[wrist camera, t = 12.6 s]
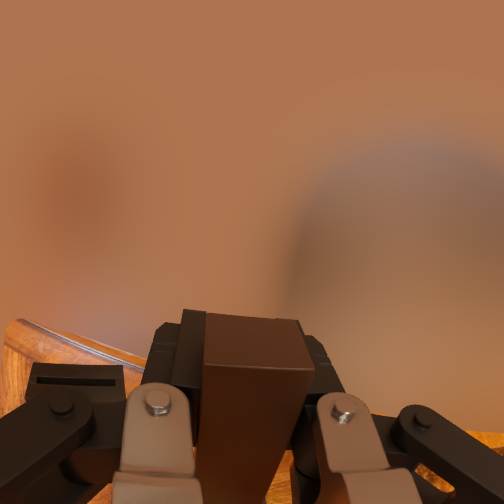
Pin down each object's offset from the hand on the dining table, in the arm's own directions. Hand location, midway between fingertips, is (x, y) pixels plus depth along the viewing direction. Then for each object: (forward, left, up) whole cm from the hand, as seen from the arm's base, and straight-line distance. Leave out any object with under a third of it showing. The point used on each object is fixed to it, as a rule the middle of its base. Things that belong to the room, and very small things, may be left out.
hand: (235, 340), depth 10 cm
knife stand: (-5, +20, -24) cm, 32 cm away
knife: (-1, -3, -13) cm, 13 cm away
